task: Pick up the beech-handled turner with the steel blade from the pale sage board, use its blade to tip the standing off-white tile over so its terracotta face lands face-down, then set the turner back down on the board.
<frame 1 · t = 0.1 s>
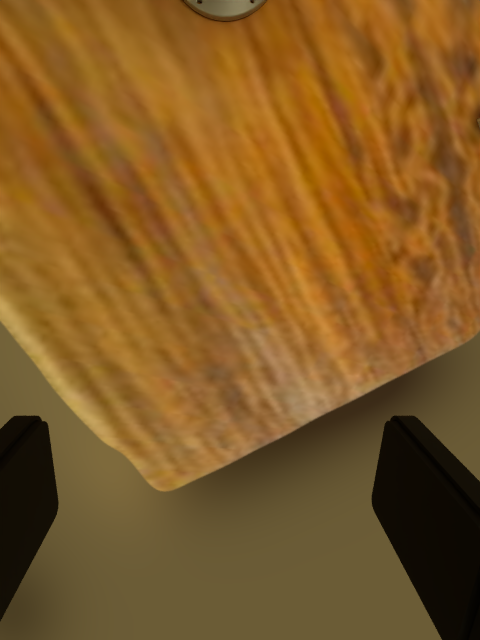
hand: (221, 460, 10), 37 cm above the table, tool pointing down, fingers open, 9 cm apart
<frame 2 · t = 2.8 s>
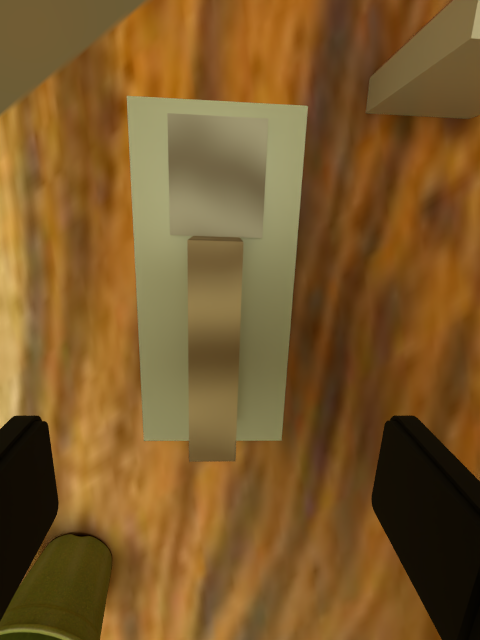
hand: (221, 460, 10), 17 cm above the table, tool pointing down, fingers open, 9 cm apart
plant pot: (80, 556, 32), on the table
turner: (215, 334, 26), point 1 cm above the table, touching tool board
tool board: (215, 291, 25), on the table
tile: (420, 98, 23), on the table
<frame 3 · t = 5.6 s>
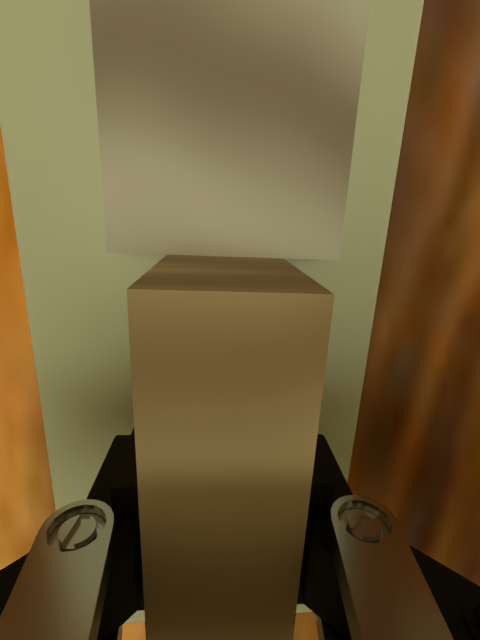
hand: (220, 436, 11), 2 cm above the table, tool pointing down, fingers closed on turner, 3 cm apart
turner: (219, 462, 12), point 2 cm above the table, touching gripper
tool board: (207, 355, 12), on the table
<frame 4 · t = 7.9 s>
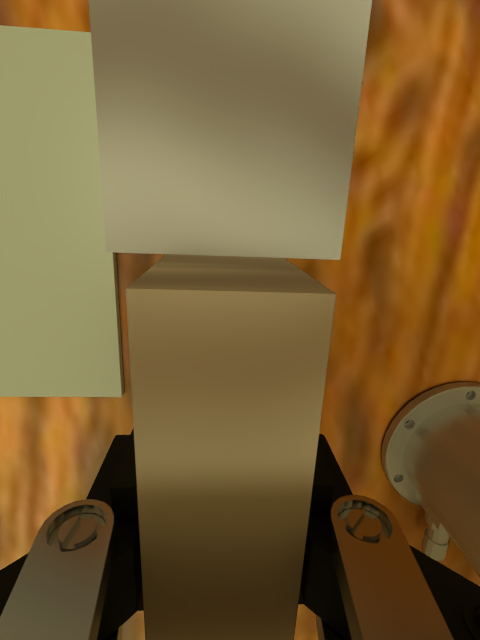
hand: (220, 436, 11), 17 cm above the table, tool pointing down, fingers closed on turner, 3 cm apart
turner: (219, 462, 12), point 16 cm above the table, touching gripper
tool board: (34, 237, 24), on the table
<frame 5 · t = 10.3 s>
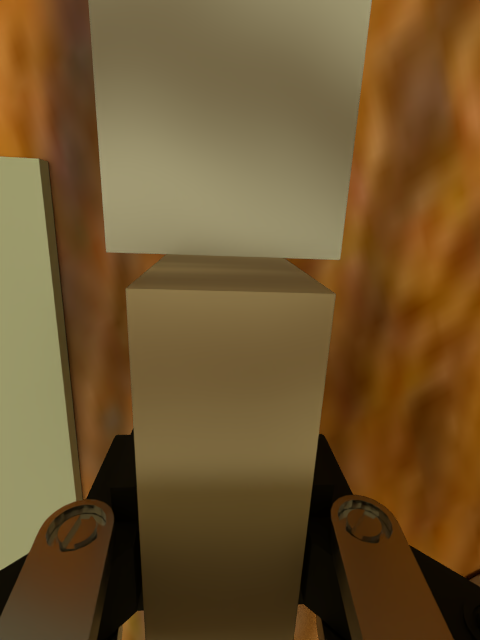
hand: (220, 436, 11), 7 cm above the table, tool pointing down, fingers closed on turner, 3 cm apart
turner: (219, 462, 12), point 7 cm above the table, touching gripper
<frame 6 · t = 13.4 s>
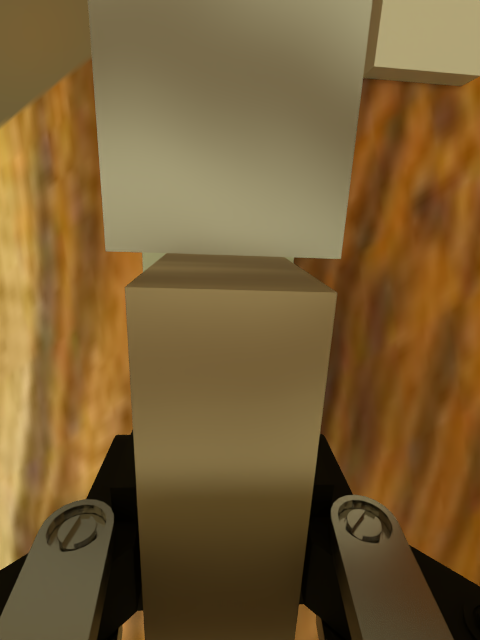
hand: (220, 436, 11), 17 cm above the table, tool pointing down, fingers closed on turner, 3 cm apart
turner: (219, 462, 12), point 17 cm above the table, touching gripper
tile: (419, 77, 23), point 1 cm above the table, tilted 90°
when the fingers open (3 cm above the table, at t = 16.3 s): turner drops 1 cm, resting on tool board.
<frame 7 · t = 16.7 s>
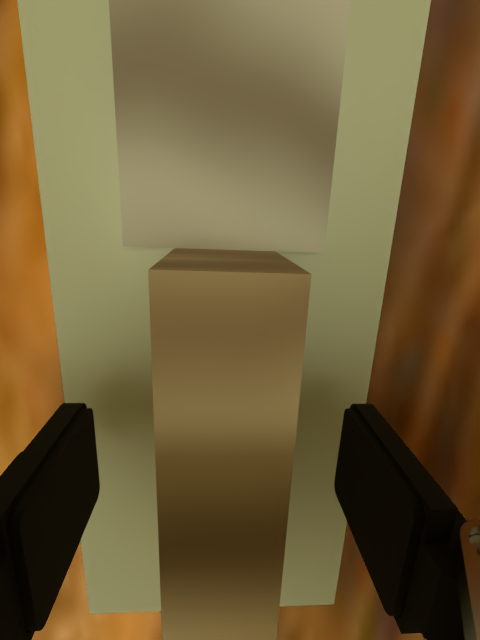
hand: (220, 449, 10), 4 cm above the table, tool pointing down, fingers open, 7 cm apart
turner: (220, 436, 13), point 1 cm above the table, touching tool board
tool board: (220, 355, 13), on the table
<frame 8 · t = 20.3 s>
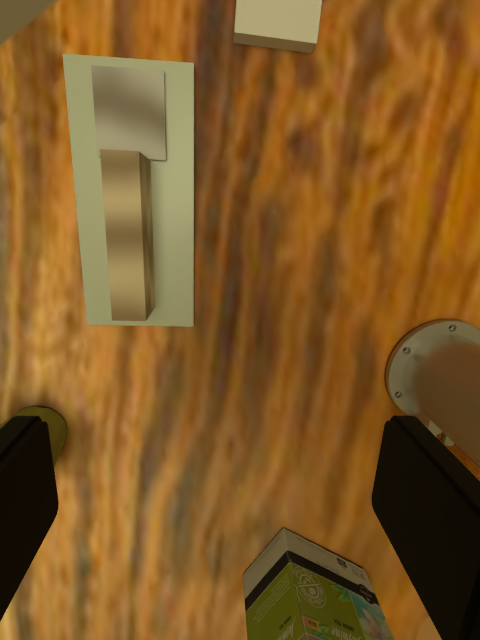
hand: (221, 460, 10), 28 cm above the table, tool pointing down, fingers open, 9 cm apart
plant pot: (42, 427, 41), on the table
turner: (137, 237, 34), point 1 cm above the table, touching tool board
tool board: (137, 205, 34), on the table
tea box: (303, 567, 50), on the table
tile: (274, 43, 30), point 1 cm above the table, tilted 90°
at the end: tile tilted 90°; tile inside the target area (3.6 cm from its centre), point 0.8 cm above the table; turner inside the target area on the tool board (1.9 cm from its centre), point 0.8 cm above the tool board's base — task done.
